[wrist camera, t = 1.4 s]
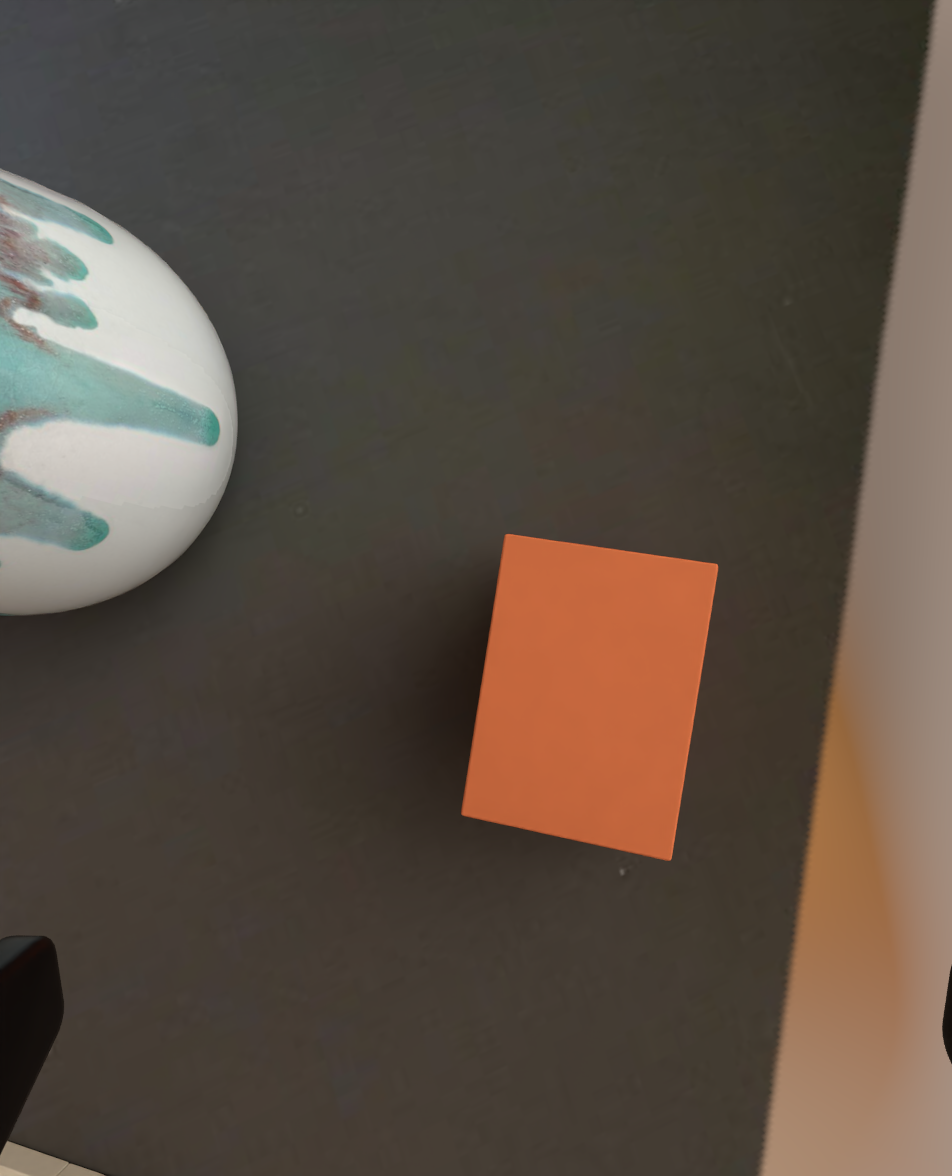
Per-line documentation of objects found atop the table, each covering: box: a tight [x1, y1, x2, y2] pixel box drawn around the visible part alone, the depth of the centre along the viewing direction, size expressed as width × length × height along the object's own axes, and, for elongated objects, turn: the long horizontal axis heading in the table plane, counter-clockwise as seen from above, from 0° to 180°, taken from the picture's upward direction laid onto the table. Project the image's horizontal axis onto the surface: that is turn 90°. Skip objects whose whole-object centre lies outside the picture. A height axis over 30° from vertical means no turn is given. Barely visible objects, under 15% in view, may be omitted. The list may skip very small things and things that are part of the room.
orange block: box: [461, 534, 718, 861], centre depth 20 cm, size 6×4×7 cm
